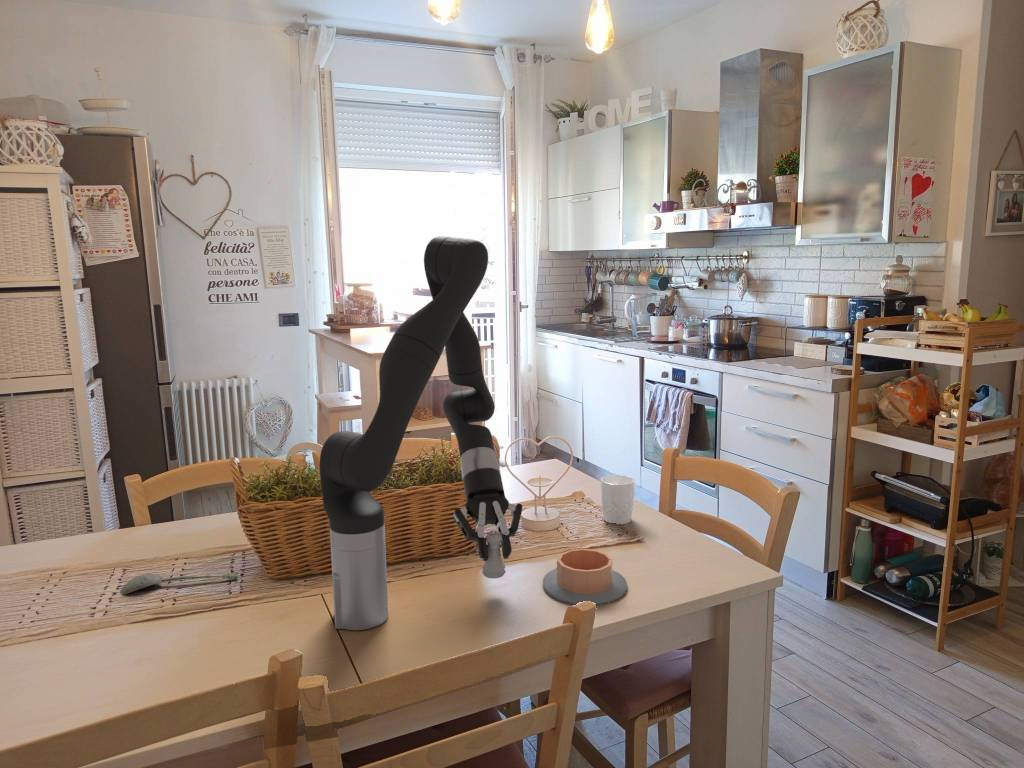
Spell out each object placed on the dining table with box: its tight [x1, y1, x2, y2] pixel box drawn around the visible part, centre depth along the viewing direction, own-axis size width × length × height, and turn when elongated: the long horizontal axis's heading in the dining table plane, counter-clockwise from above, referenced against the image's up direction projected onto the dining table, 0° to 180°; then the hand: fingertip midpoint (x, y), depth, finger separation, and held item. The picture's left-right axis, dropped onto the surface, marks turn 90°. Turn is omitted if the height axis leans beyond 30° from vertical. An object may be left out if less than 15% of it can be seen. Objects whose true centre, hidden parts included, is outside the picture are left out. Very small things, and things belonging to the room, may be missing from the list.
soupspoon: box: [119, 572, 241, 596], centre depth 141 cm, size 22×3×7 cm
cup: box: [542, 548, 628, 606], centre depth 138 cm, size 16×16×5 cm
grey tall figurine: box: [481, 530, 506, 579], centre depth 135 cm, size 4×4×8 cm
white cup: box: [600, 474, 635, 525], centre depth 173 cm, size 8×8×10 cm
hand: (496, 557), depth 133 cm, fingers closed on grey tall figurine, 3 cm apart
